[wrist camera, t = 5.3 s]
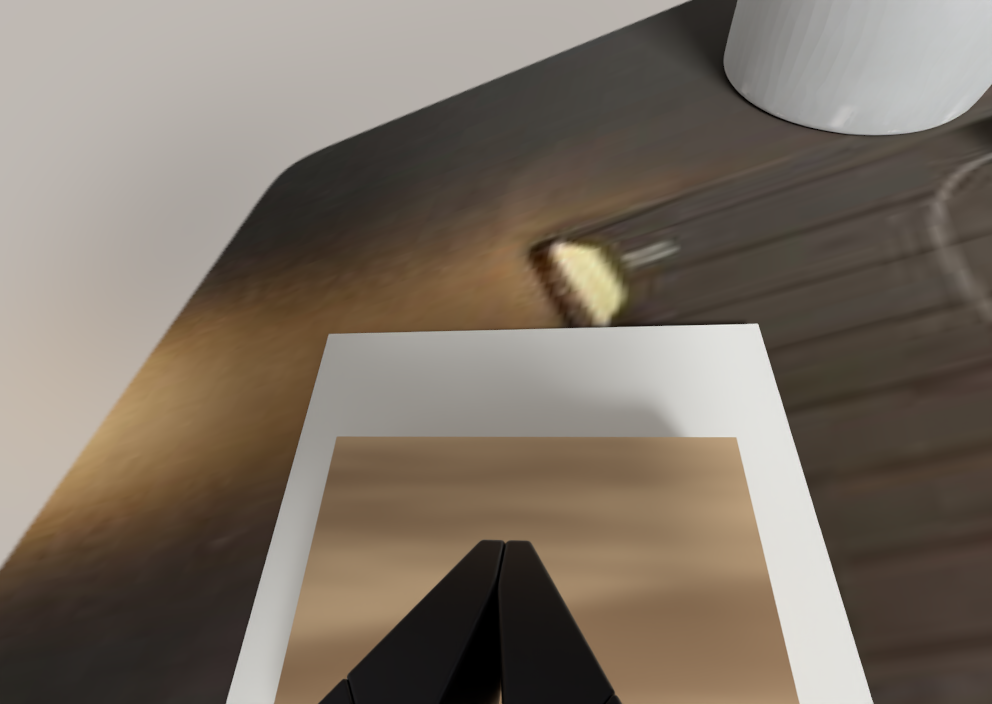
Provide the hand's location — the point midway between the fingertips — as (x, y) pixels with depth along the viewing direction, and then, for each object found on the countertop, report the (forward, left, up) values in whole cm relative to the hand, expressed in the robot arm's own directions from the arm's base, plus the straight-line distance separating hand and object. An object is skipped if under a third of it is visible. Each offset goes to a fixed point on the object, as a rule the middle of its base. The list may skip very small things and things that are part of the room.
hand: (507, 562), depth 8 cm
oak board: (-5, +1, -6) cm, 8 cm away
